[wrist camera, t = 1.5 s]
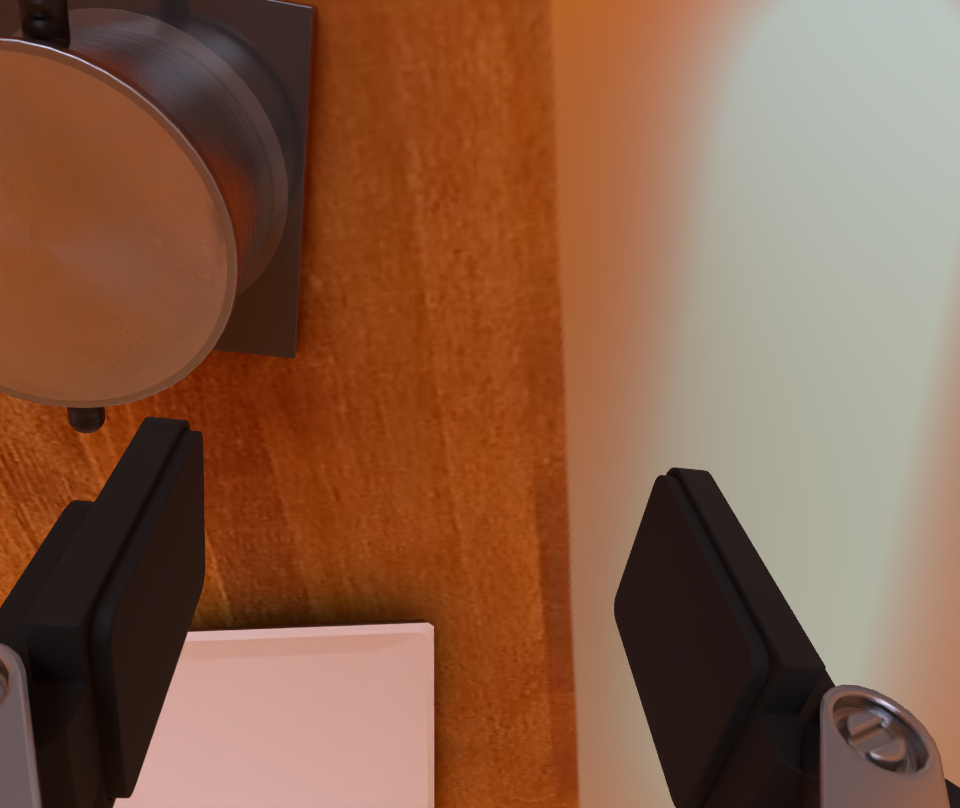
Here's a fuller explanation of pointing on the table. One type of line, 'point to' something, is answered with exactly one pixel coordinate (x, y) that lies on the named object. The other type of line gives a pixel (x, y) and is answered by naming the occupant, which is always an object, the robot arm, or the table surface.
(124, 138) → the pot
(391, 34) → the table surface
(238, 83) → the hob
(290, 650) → the plate
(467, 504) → the table surface
